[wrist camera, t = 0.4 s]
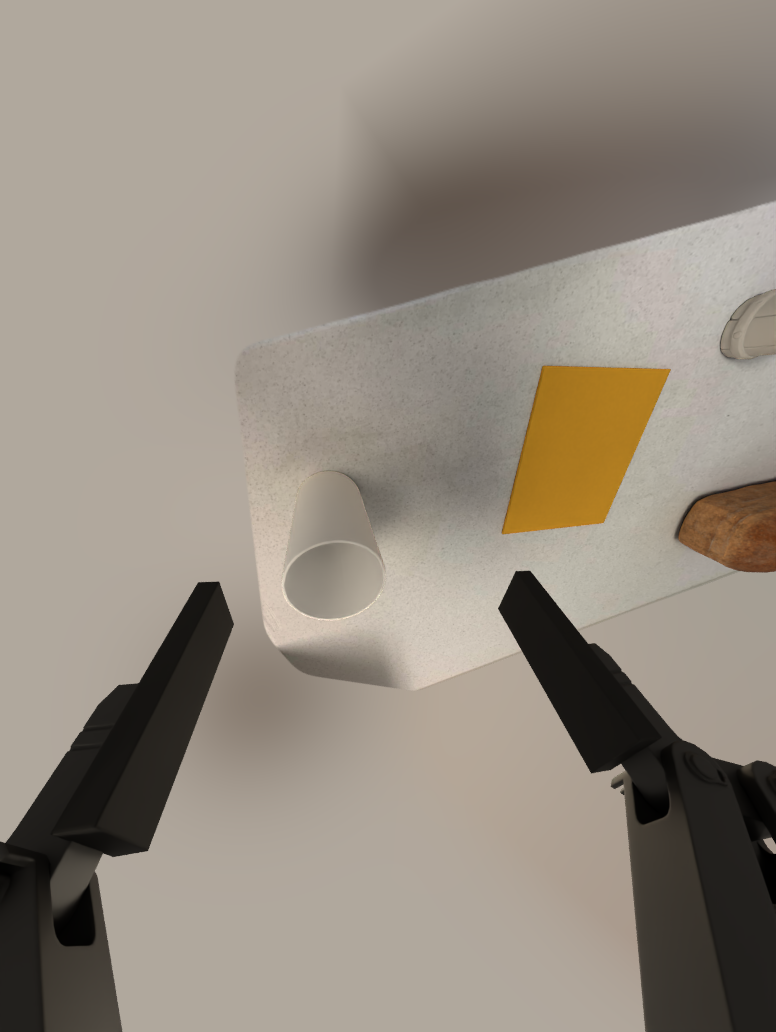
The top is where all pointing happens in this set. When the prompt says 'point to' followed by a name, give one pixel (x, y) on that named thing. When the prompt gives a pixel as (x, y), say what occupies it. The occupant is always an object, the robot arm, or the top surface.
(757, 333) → the mug
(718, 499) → the bread
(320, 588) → the cup
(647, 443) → the top surface
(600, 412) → the cloth
